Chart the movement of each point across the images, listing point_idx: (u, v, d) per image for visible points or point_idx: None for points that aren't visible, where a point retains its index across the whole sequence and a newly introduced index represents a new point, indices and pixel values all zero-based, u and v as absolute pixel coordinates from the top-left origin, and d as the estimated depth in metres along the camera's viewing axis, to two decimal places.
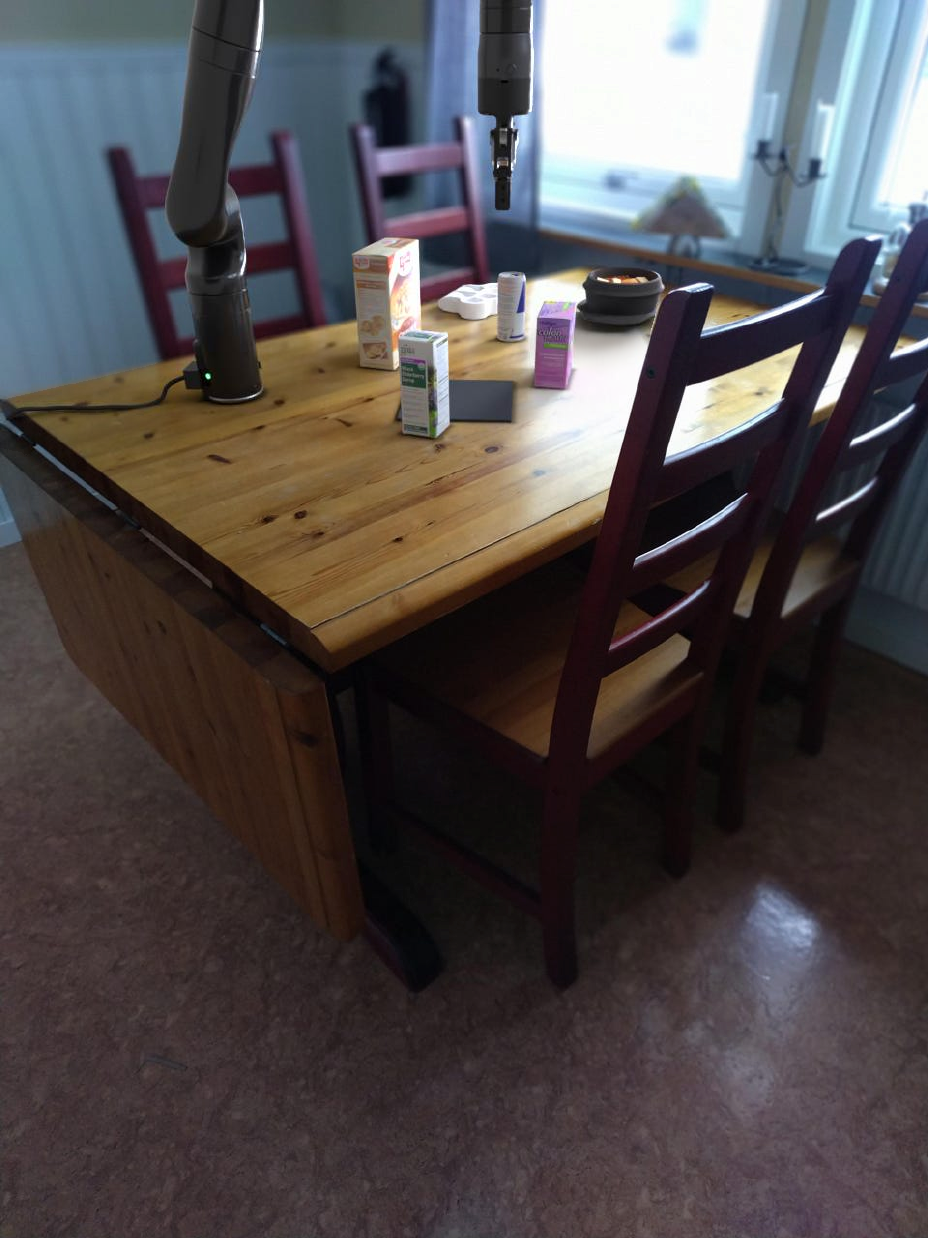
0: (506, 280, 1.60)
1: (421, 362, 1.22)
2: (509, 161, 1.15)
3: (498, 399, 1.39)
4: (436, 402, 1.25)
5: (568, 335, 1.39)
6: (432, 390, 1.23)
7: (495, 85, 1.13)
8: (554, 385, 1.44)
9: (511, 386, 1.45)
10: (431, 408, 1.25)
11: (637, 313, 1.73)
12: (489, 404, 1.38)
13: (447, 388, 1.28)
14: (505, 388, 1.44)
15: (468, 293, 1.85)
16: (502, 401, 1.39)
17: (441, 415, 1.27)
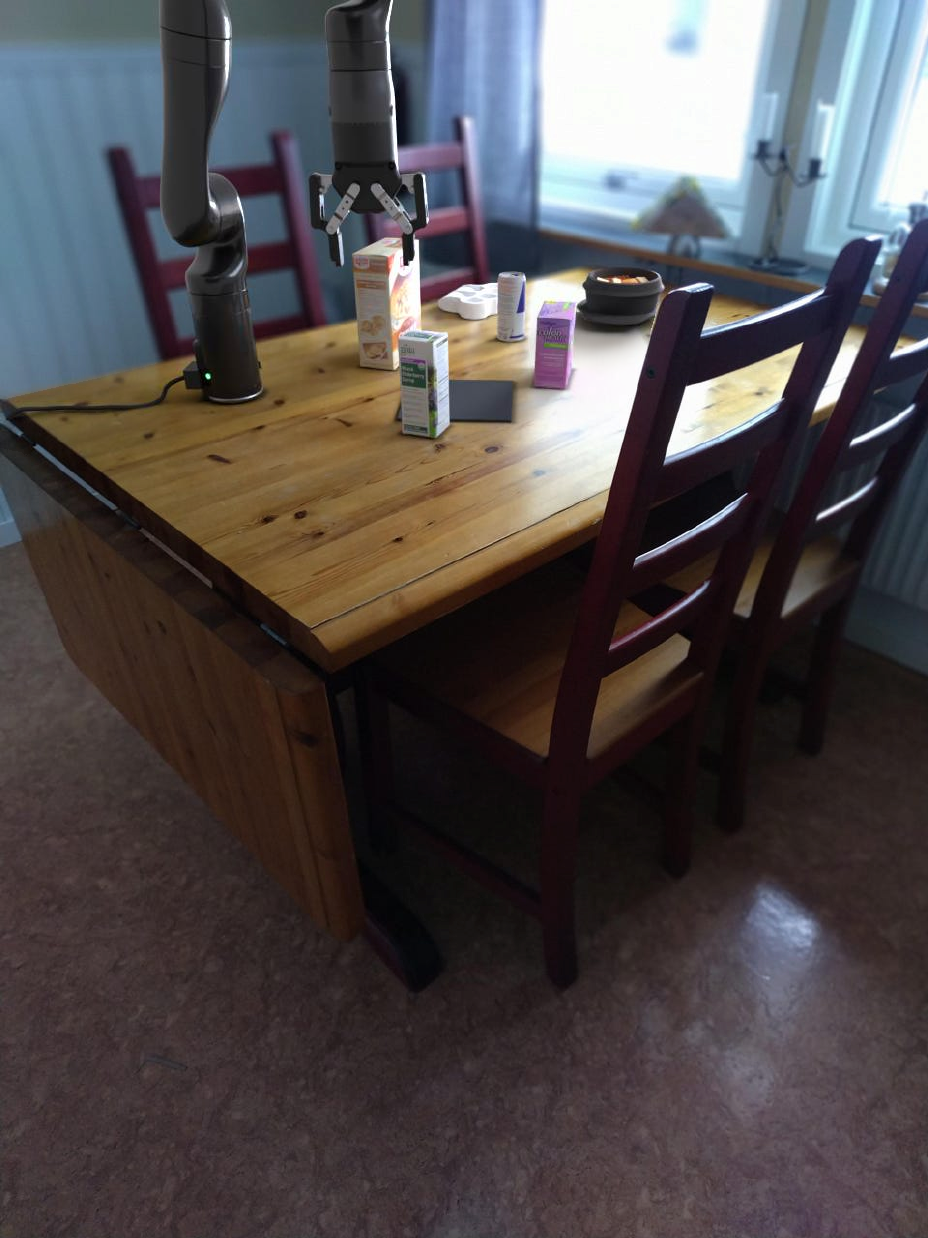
0: (506, 280, 1.60)
1: (421, 362, 1.22)
2: None
3: (498, 399, 1.39)
4: (436, 402, 1.25)
5: (568, 335, 1.39)
6: (432, 390, 1.23)
7: None
8: (554, 385, 1.44)
9: (511, 386, 1.45)
10: (431, 408, 1.25)
11: (637, 313, 1.73)
12: (489, 404, 1.38)
13: (447, 388, 1.28)
14: (505, 388, 1.44)
15: (468, 293, 1.85)
16: (502, 401, 1.39)
17: (441, 415, 1.27)
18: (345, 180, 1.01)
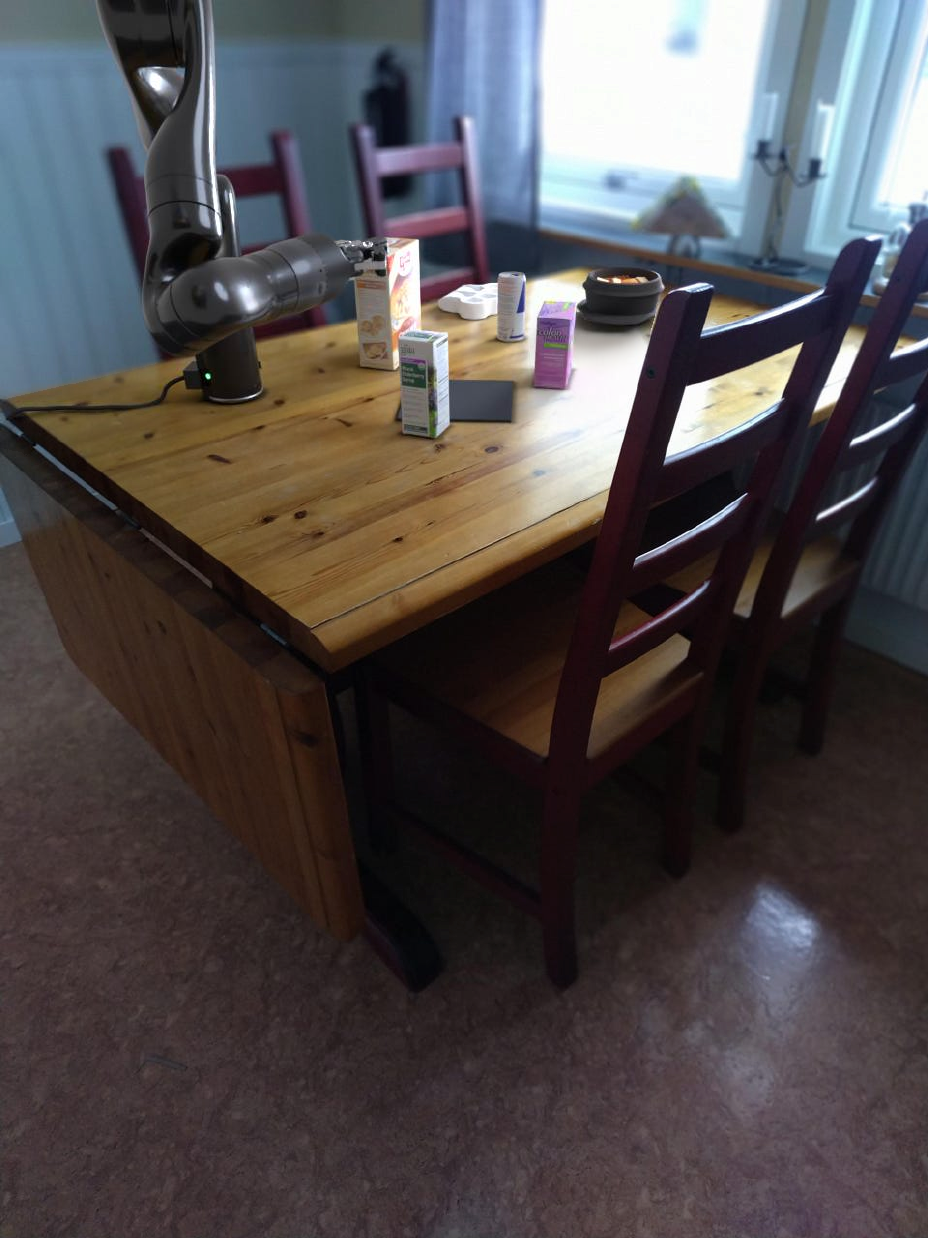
0: (506, 280, 1.60)
1: (421, 362, 1.22)
2: None
3: (498, 399, 1.39)
4: (436, 402, 1.25)
5: (568, 335, 1.39)
6: (432, 390, 1.23)
7: None
8: (554, 385, 1.44)
9: (511, 386, 1.45)
10: (431, 408, 1.25)
11: (637, 313, 1.73)
12: (489, 404, 1.38)
13: (447, 388, 1.28)
14: (505, 388, 1.44)
15: (468, 293, 1.85)
16: (502, 401, 1.39)
17: (441, 415, 1.27)
18: None
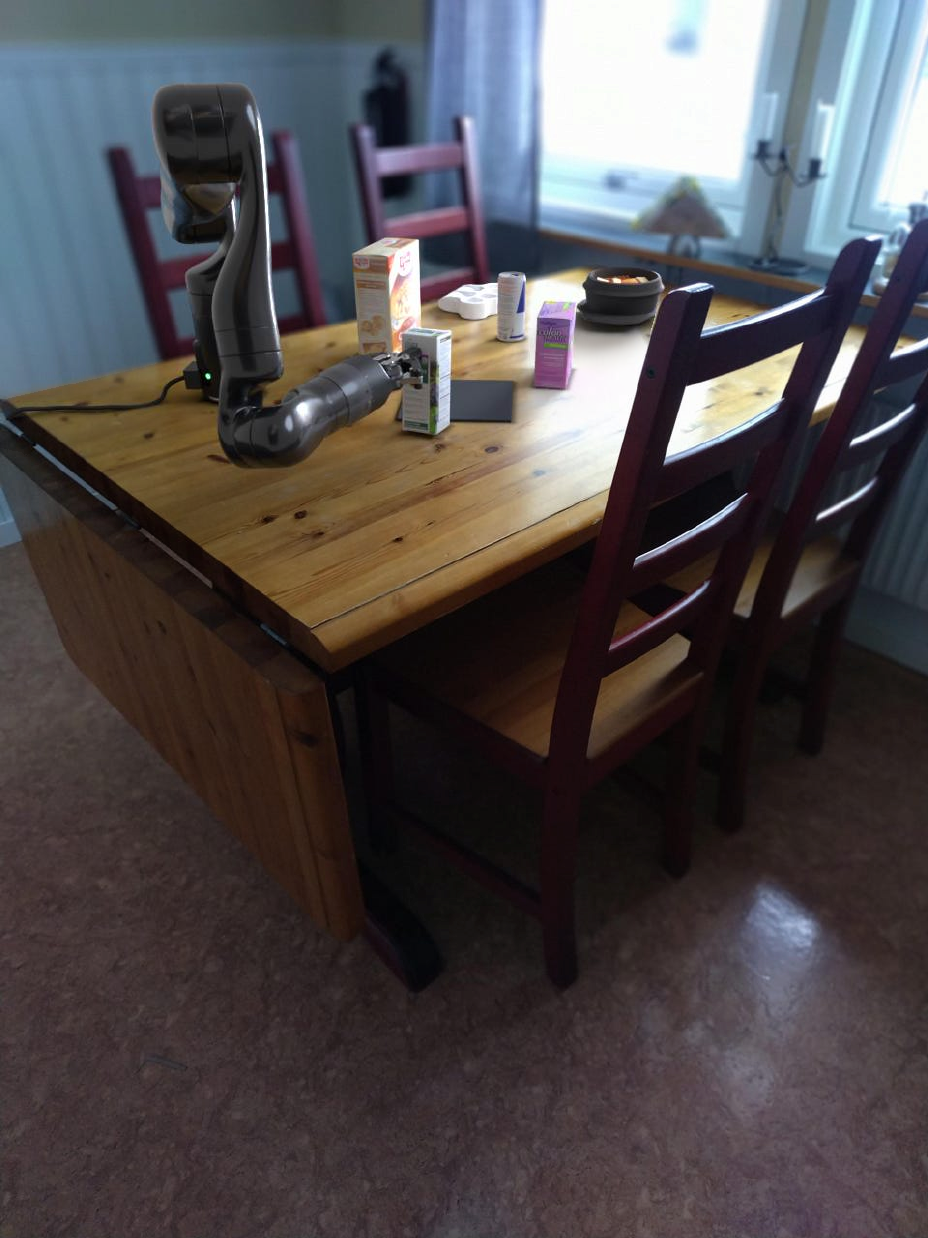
0: (506, 280, 1.60)
1: (424, 356, 1.22)
2: None
3: (498, 399, 1.39)
4: (437, 398, 1.25)
5: (568, 335, 1.39)
6: (434, 385, 1.24)
7: None
8: (554, 385, 1.44)
9: (511, 386, 1.45)
10: (432, 404, 1.25)
11: (637, 313, 1.73)
12: (489, 404, 1.38)
13: (449, 387, 1.28)
14: (505, 388, 1.44)
15: (468, 293, 1.85)
16: (502, 401, 1.39)
17: (441, 412, 1.27)
18: None
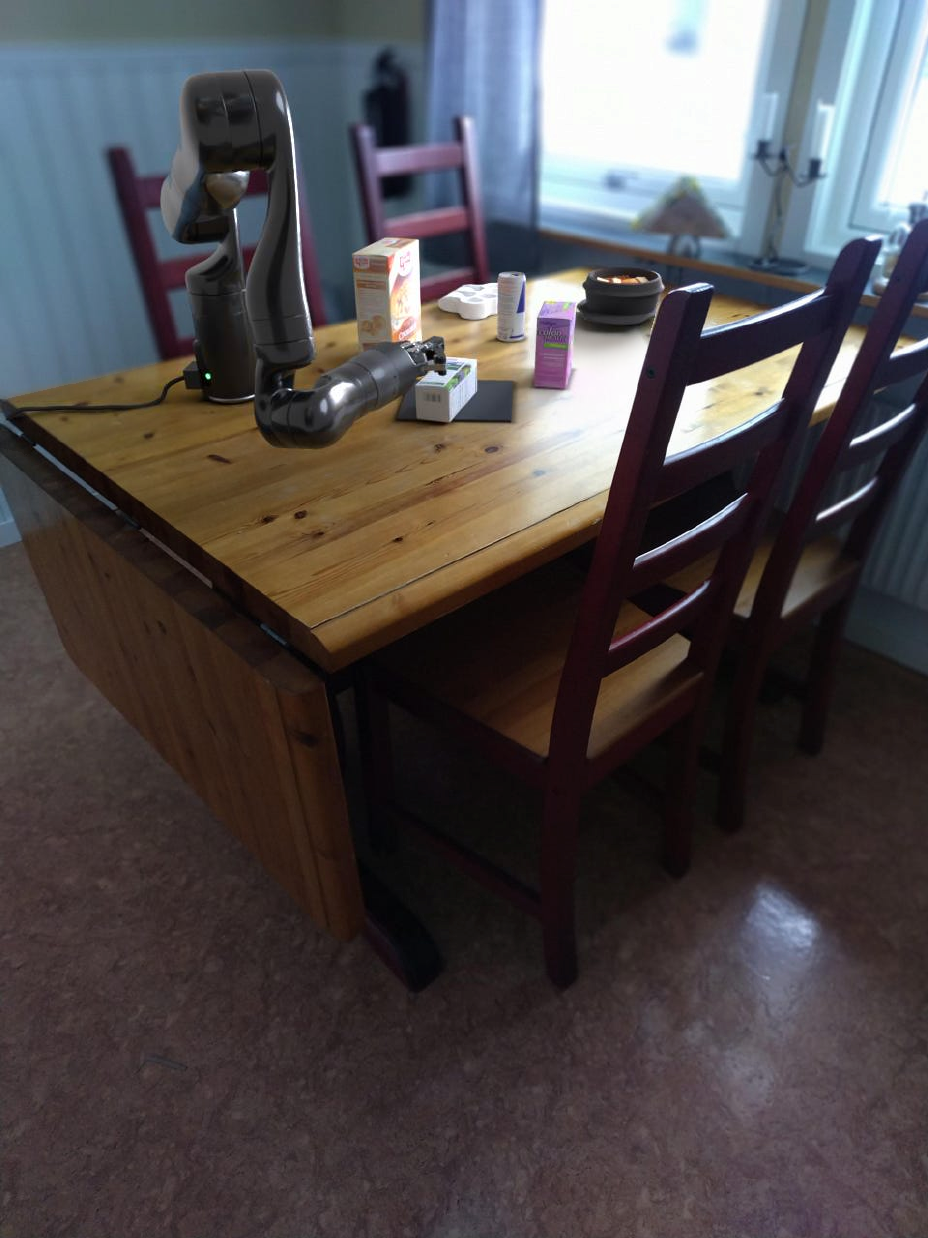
0: (506, 280, 1.60)
1: (460, 362, 1.37)
2: None
3: (498, 399, 1.39)
4: (460, 379, 1.33)
5: (568, 335, 1.39)
6: (462, 371, 1.34)
7: None
8: (554, 385, 1.44)
9: (511, 386, 1.45)
10: (455, 377, 1.32)
11: (637, 313, 1.73)
12: (489, 404, 1.38)
13: (462, 404, 1.36)
14: (505, 388, 1.44)
15: (468, 293, 1.85)
16: (502, 401, 1.39)
17: (455, 395, 1.32)
18: None
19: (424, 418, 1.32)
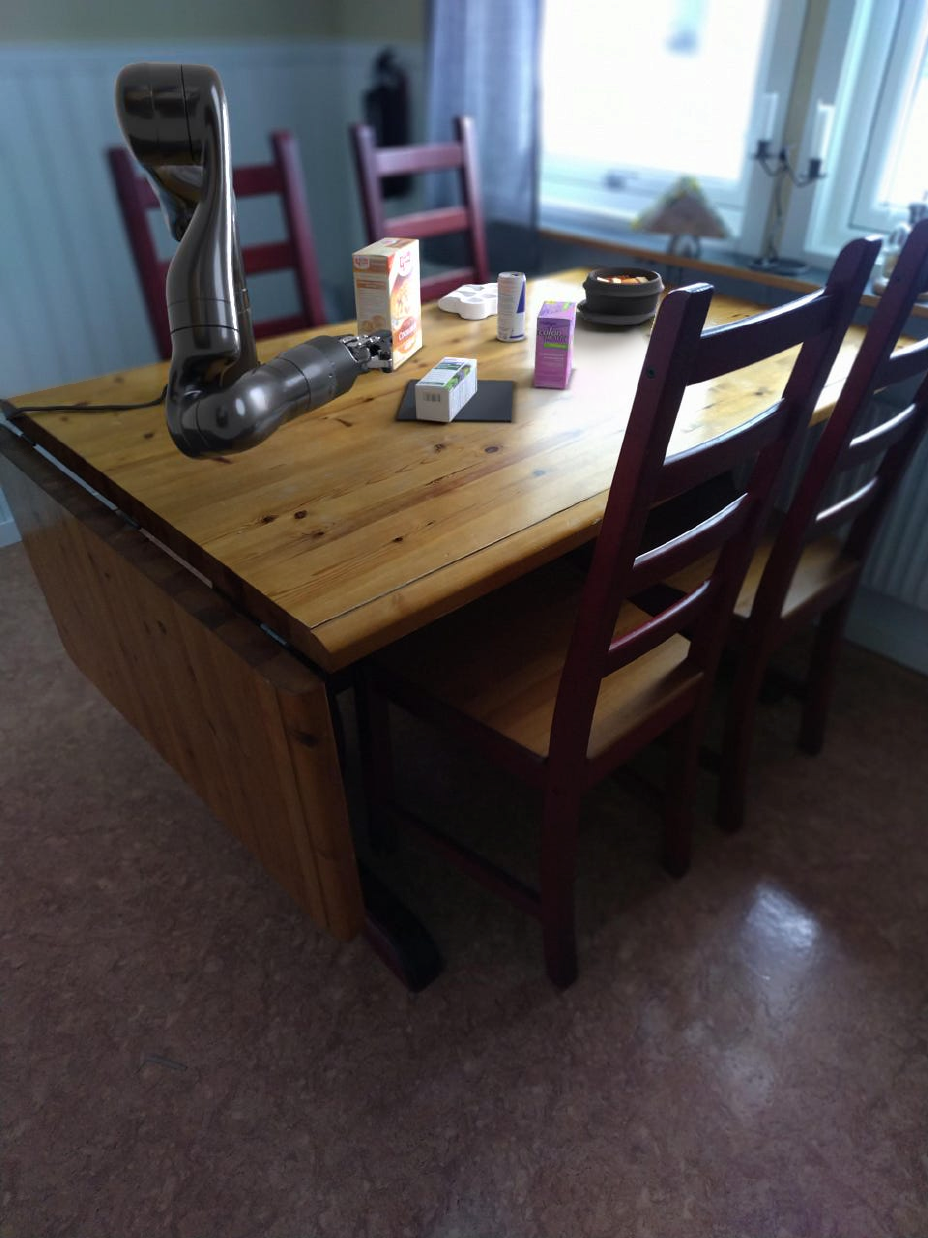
0: (506, 280, 1.60)
1: (460, 363, 1.37)
2: None
3: (498, 399, 1.39)
4: (460, 379, 1.33)
5: (568, 335, 1.39)
6: (462, 371, 1.34)
7: None
8: (554, 385, 1.44)
9: (511, 386, 1.45)
10: (454, 377, 1.32)
11: (637, 313, 1.73)
12: (489, 404, 1.38)
13: (462, 404, 1.36)
14: (505, 388, 1.44)
15: (468, 293, 1.85)
16: (502, 401, 1.39)
17: (455, 395, 1.32)
18: None
19: (424, 418, 1.32)
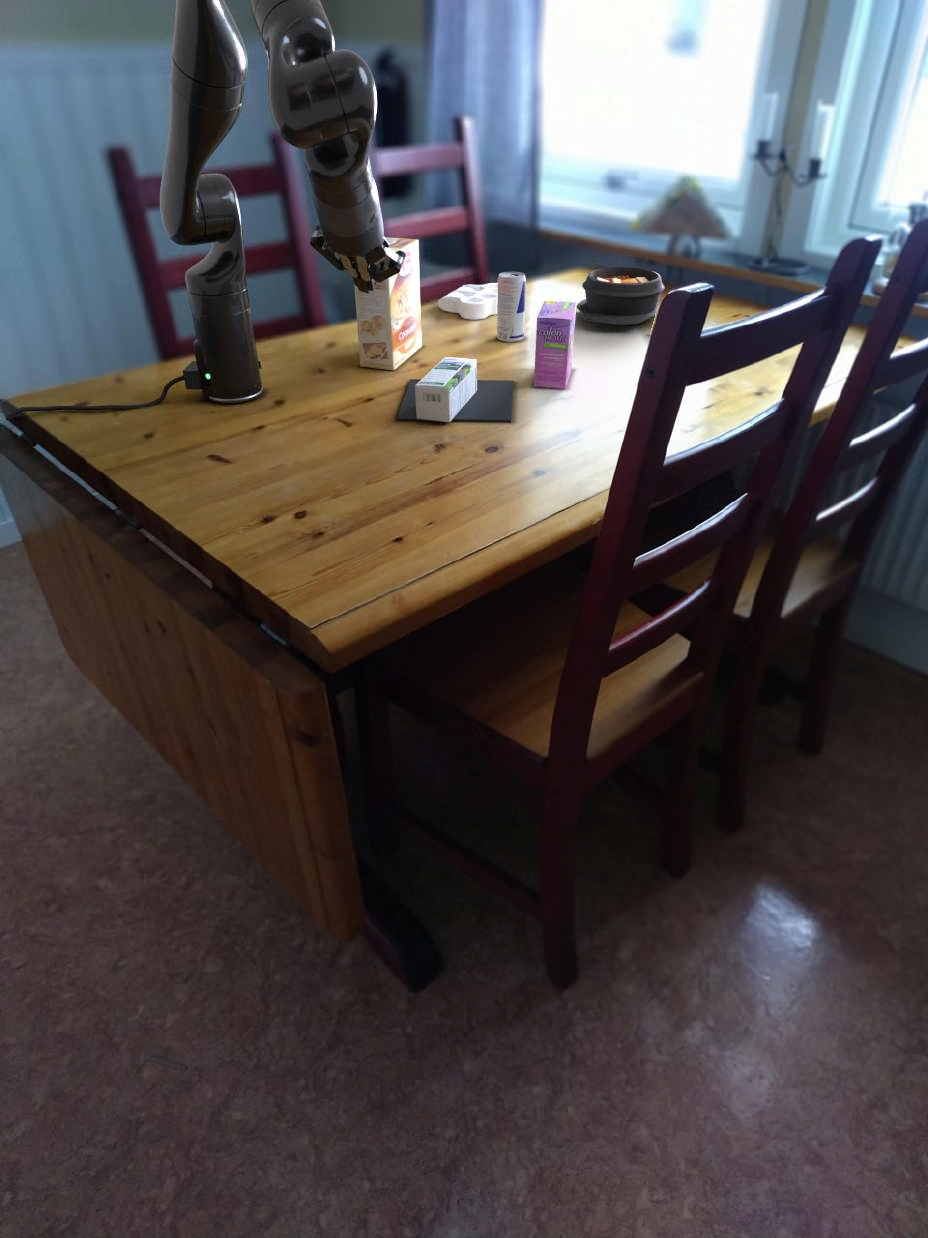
0: (506, 280, 1.60)
1: (460, 363, 1.37)
2: None
3: (498, 399, 1.39)
4: (460, 379, 1.33)
5: (568, 335, 1.39)
6: (462, 371, 1.34)
7: None
8: (554, 385, 1.44)
9: (511, 386, 1.45)
10: (454, 377, 1.32)
11: (637, 313, 1.73)
12: (489, 404, 1.38)
13: (462, 404, 1.36)
14: (505, 388, 1.44)
15: (468, 293, 1.85)
16: (502, 401, 1.39)
17: (455, 395, 1.32)
18: None
19: (424, 418, 1.32)
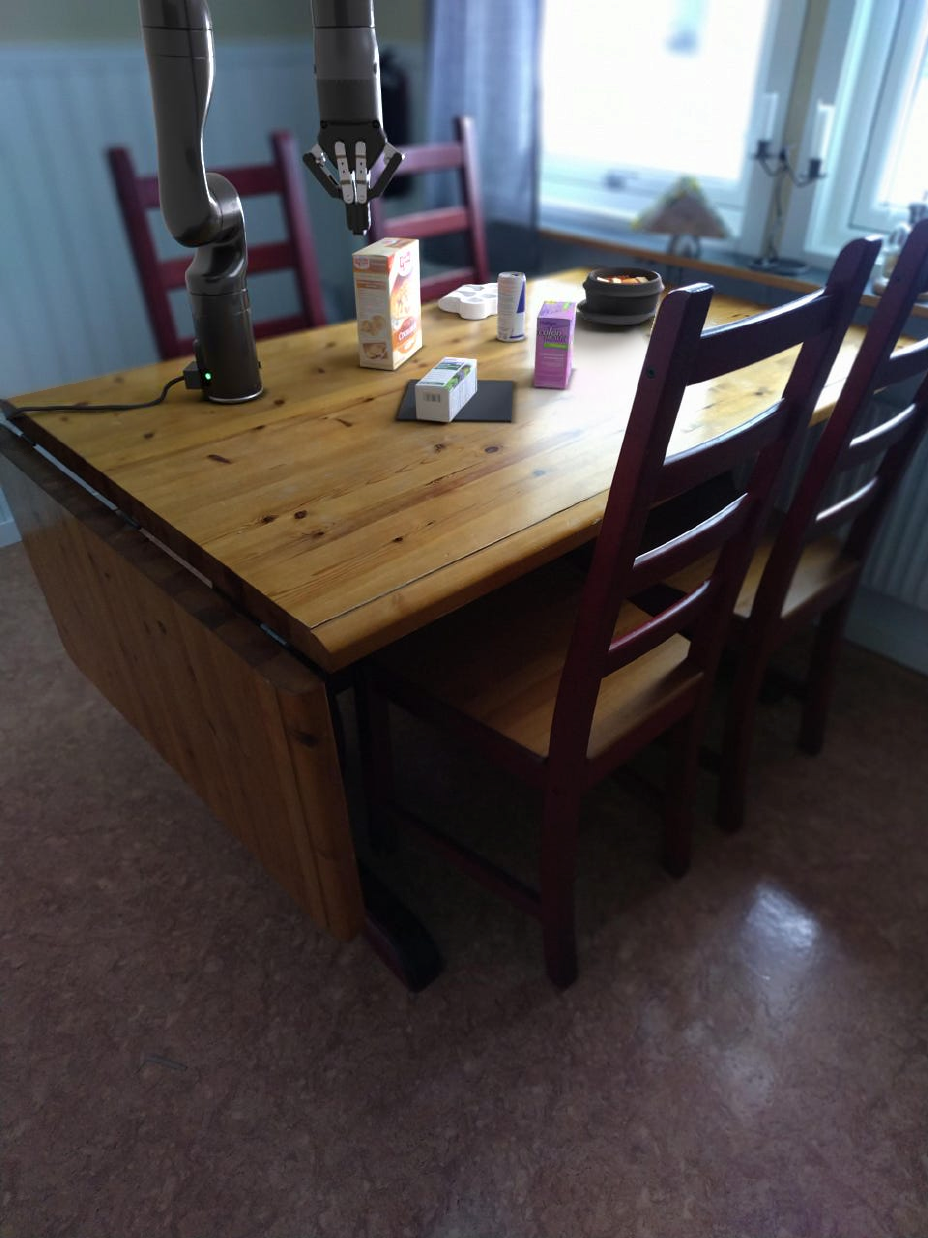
0: (506, 280, 1.60)
1: (460, 363, 1.37)
2: (323, 186, 1.06)
3: (498, 399, 1.39)
4: (460, 379, 1.33)
5: (568, 335, 1.39)
6: (462, 371, 1.34)
7: None
8: (554, 385, 1.44)
9: (511, 386, 1.45)
10: (454, 377, 1.32)
11: (637, 313, 1.73)
12: (489, 404, 1.38)
13: (462, 404, 1.36)
14: (505, 388, 1.44)
15: (468, 293, 1.85)
16: (502, 401, 1.39)
17: (455, 395, 1.32)
18: (330, 138, 1.02)
19: (424, 418, 1.32)
